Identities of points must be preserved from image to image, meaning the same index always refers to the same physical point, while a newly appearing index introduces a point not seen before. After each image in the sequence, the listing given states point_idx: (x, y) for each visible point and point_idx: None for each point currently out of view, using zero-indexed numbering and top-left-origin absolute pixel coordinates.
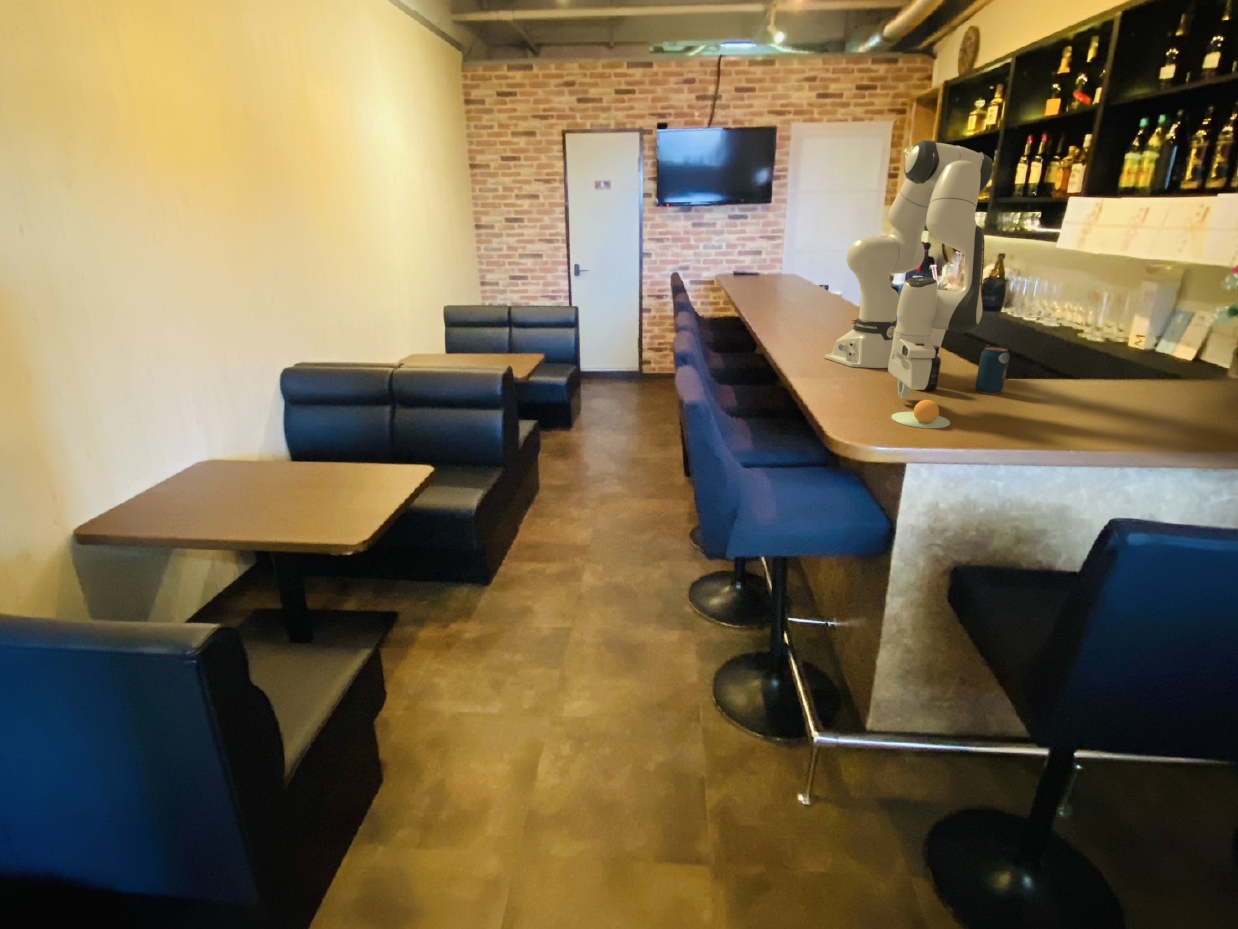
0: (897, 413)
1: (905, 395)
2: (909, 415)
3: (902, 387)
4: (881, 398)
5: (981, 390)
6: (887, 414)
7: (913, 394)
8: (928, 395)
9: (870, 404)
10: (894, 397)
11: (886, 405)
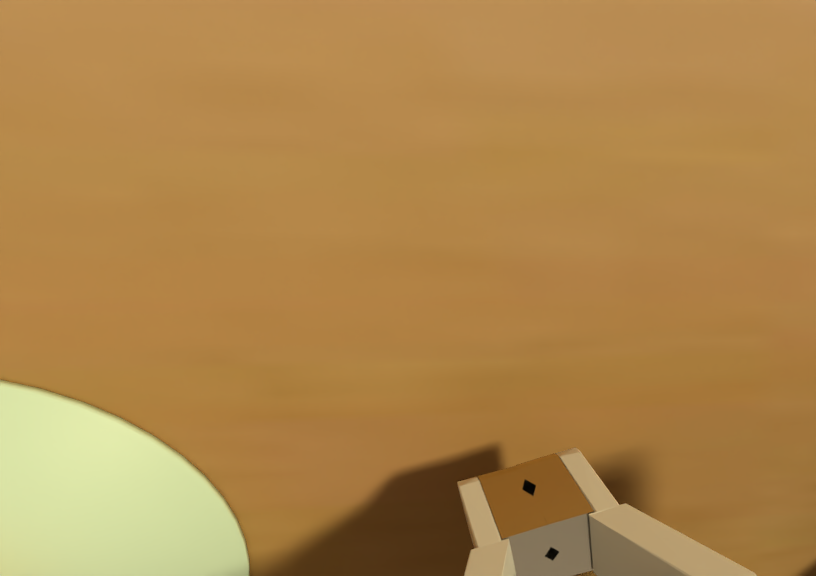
0: (77, 424)
1: (474, 543)
2: (72, 513)
3: (633, 570)
4: (682, 264)
5: None
6: (10, 329)
7: (803, 486)
8: (770, 559)
9: (400, 138)
10: (720, 373)
11: (413, 314)
